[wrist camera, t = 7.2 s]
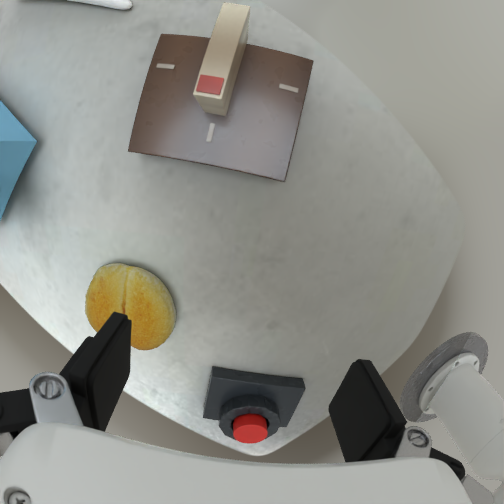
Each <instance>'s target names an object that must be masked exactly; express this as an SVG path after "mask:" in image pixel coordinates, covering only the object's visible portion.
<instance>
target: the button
mask: <svg viewBox="0 0 504 504" xmlns="http://www.w3.org/2000/svg"><path fill="white" fill-rule="evenodd" d="M267 434H268V432H267V423H266V419H265V418H264V417H263V416H261V415H259V414H251V413H248V414H244V415H239V416H238V417H236V418H235V419H234V421H233V436H234V438H235V439H236V440H238V441H239V442H242V443H257V442H260V441H262V440H264V439H265V438H266V437H267Z"/></svg>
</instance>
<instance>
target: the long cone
mask: <svg viewBox="0 0 504 504" xmlns="http://www.w3.org/2000/svg"><path fill="white" fill-rule="evenodd" d="M69 1H76V2H82V3H88V4H94V5H99V6H104V7H109V8H115V9H122V10H126V9H130V8H131V7H132V3H131V1H130V0H69Z"/></svg>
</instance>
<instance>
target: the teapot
mask: <svg viewBox="0 0 504 504" xmlns="http://www.w3.org/2000/svg"><path fill="white" fill-rule="evenodd" d="M36 143H37V141H36V140H35V139H34V138H33V137H32V135H31V134H30V133H29V132H28V131H27V130H26V129H25V128H24V127H23V126H22V124H21V123H20V122H19V121H18V120H17V119H16V118H15V117H14V115H13V114H12V113H11V112H10V111H9V110H8V109H7V107H6V106H5V105H4V104H3V103H2V102H1V100H0V221H1V218H2V215H3V213H4V210H5V207H6V205H7V202H8V200H9V198H10V195H11V193H12V191H13V188H14V186H15V184H16V182H17V180H18V177H19V175H20V173H21V171H22V169H23V167H24V165H25V163H26V161H27V159H28V157H29V155H30V154H31V152H32V150H33V148H34V146H35V144H36Z"/></svg>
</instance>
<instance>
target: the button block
mask: <svg viewBox="0 0 504 504" xmlns="http://www.w3.org/2000/svg"><path fill="white" fill-rule="evenodd" d="M304 390H305V385H304V382H303V379H301V378H290V377H281V376H272V375H264V374H257V373H250V372H243V371H236V370H230V369H224V368H218V367H212V372H211V376H210V381H209V386H208V391H207V396H206V400H205V405H204V412H203V418H207V419H213V420H219V427H220V428H221V430H222V431H223V433H224V434H225V435H226V436H228V437H231V438H233V439H235V438H234V436H233V421H234V419H235V418H236V417H238V416H239V415H244V414H248V413H251V414H259V415H261V416H263V417H264V418H265V419H266V423H267V432H268V434H267V437H266V438H268V437H269V436H271V435H273V434H274V433H276V432H277V430H278V428H279V427H287V425H288V423H289V421H290V419H291V417H292V415H293V413H294V411H295V409H296V407H297V405H298V403H299V401H300V399H301V397H302V395H303V392H304ZM266 438H265V439H266ZM235 440H236V439H235Z"/></svg>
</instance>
